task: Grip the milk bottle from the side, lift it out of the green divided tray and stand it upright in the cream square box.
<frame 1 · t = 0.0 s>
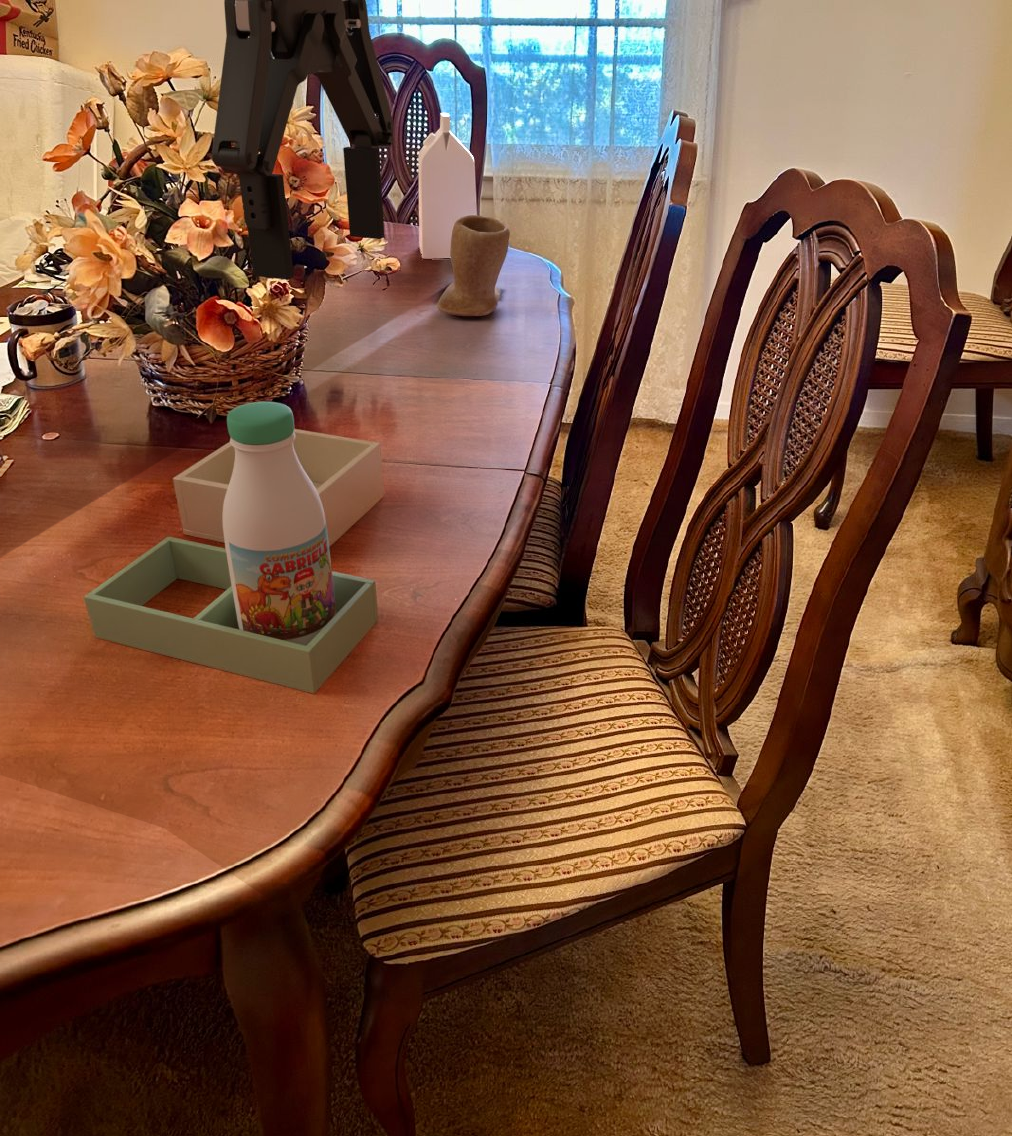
hand: (324, 255, 69), 29 cm above the table, tool pointing down, fingers open, 13 cm apart
green divided tray: (238, 628, 78), on the table
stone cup: (475, 310, 159), on the table
cream square box: (287, 514, 95), on the table
milk: (448, 253, 195), on the table
milk bottle: (291, 643, 76), resting in green divided tray
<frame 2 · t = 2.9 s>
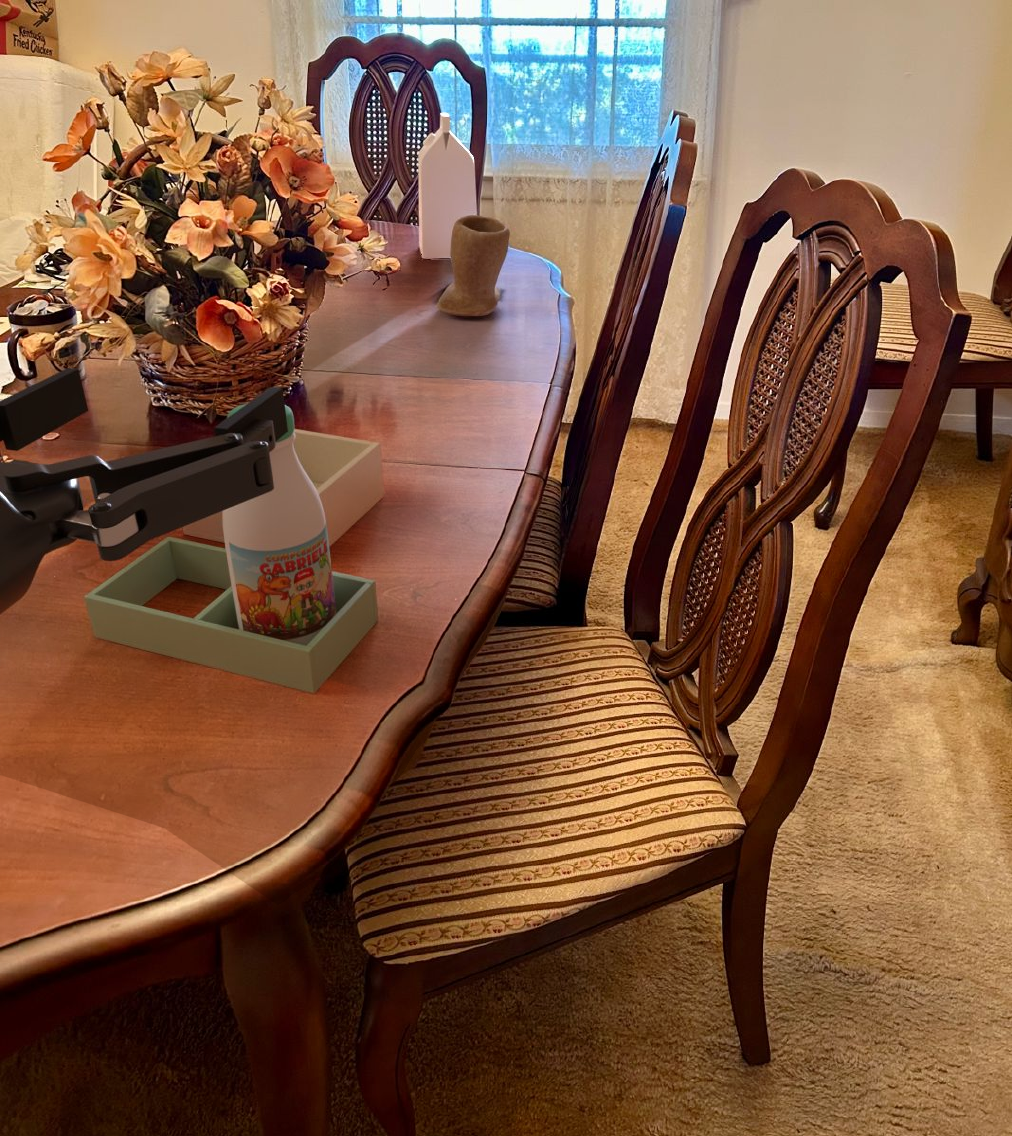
hand: (176, 398, 56), 24 cm above the table, tool horizontal, fingers open, 13 cm apart
nothing on the table moved.
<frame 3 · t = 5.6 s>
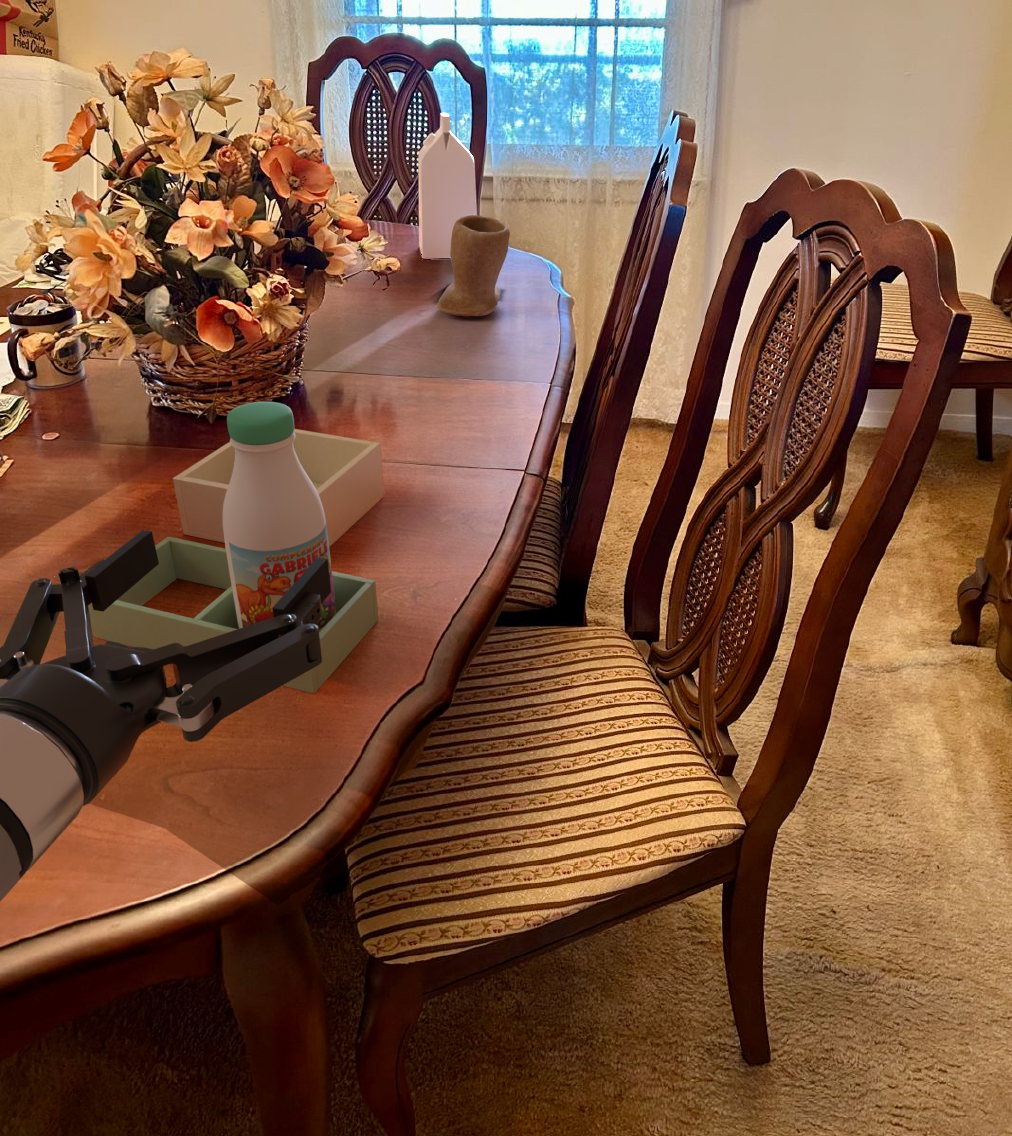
hand: (236, 560, 66), 11 cm above the table, tool horizontal, fingers open, 13 cm apart
nothing on the table moved.
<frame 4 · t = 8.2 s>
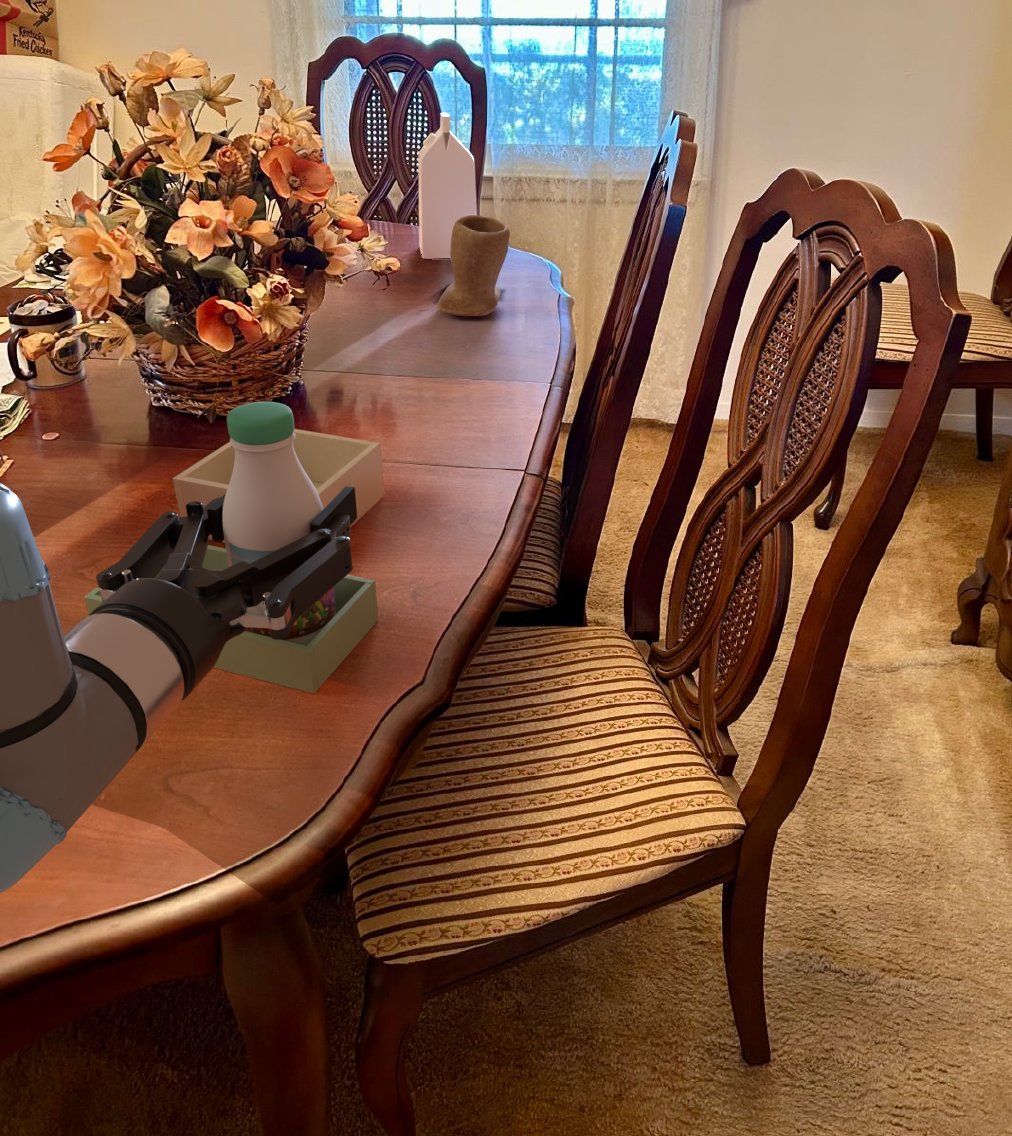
hand: (303, 495, 74), 11 cm above the table, tool horizontal, fingers closed on milk bottle, 8 cm apart
milk bottle: (291, 643, 76), resting in green divided tray, touching gripper
everything else where it was.
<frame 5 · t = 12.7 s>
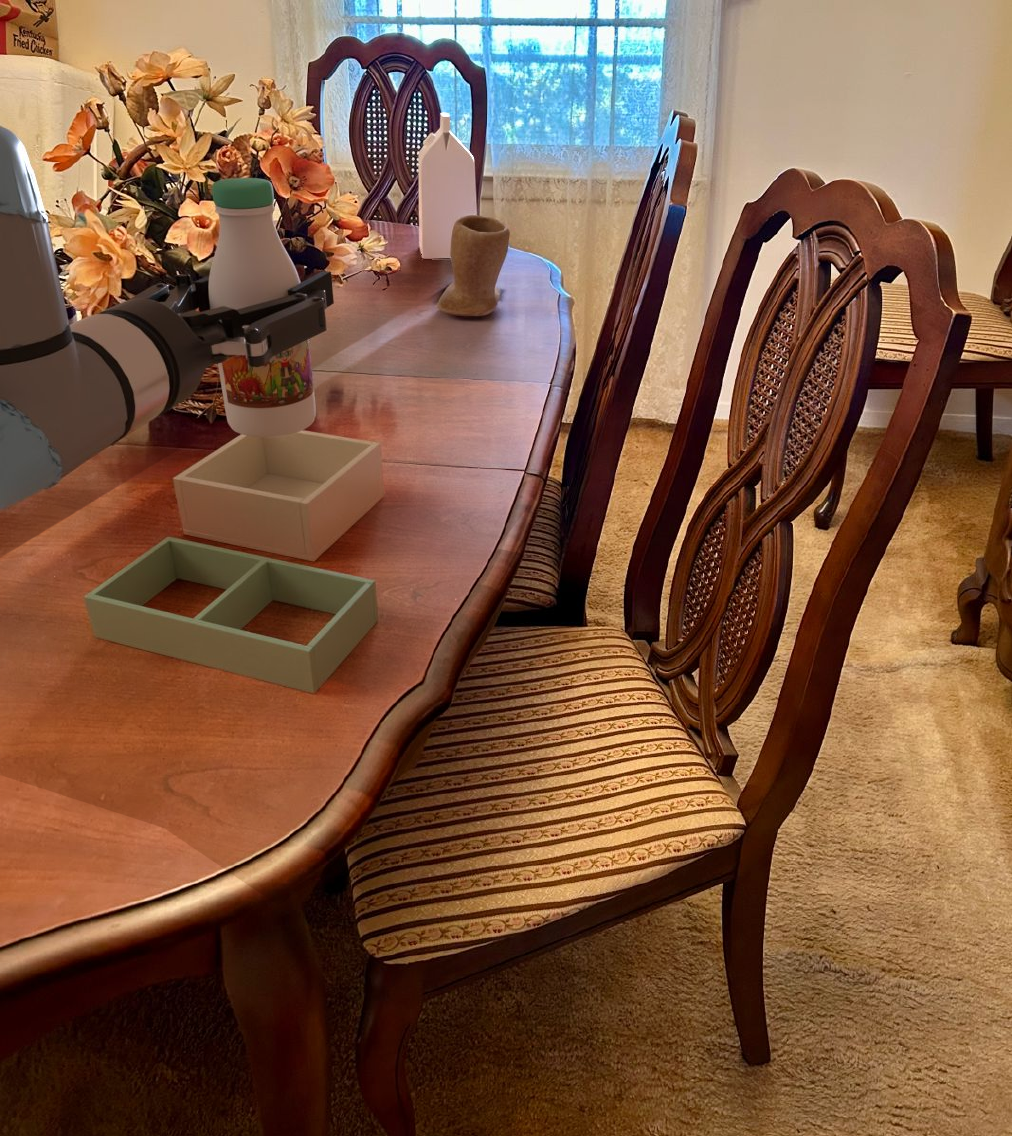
hand: (284, 283, 81), 24 cm above the table, tool horizontal, fingers closed on milk bottle, 8 cm apart
milk bottle: (273, 424, 83), point 13 cm above the table, touching gripper
everything else where it was.
when the fingers open (12 cm above the table, at t = 17.3 s): milk bottle stays where it is, resting on cream square box.
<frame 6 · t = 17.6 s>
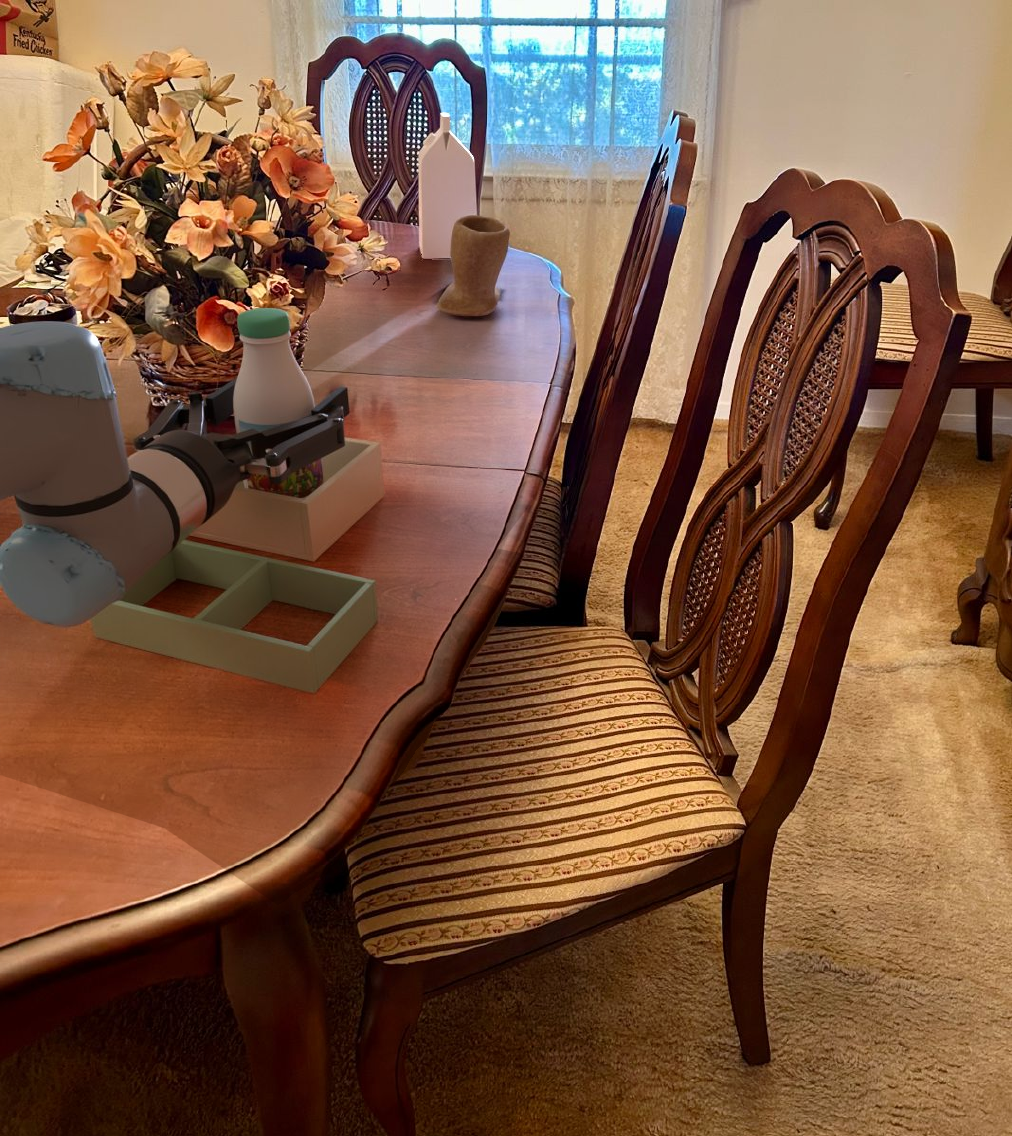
hand: (294, 394, 93), 11 cm above the table, tool horizontal, fingers open, 10 cm apart
milk bottle: (287, 511, 95), resting on cream square box
everything else where it was.
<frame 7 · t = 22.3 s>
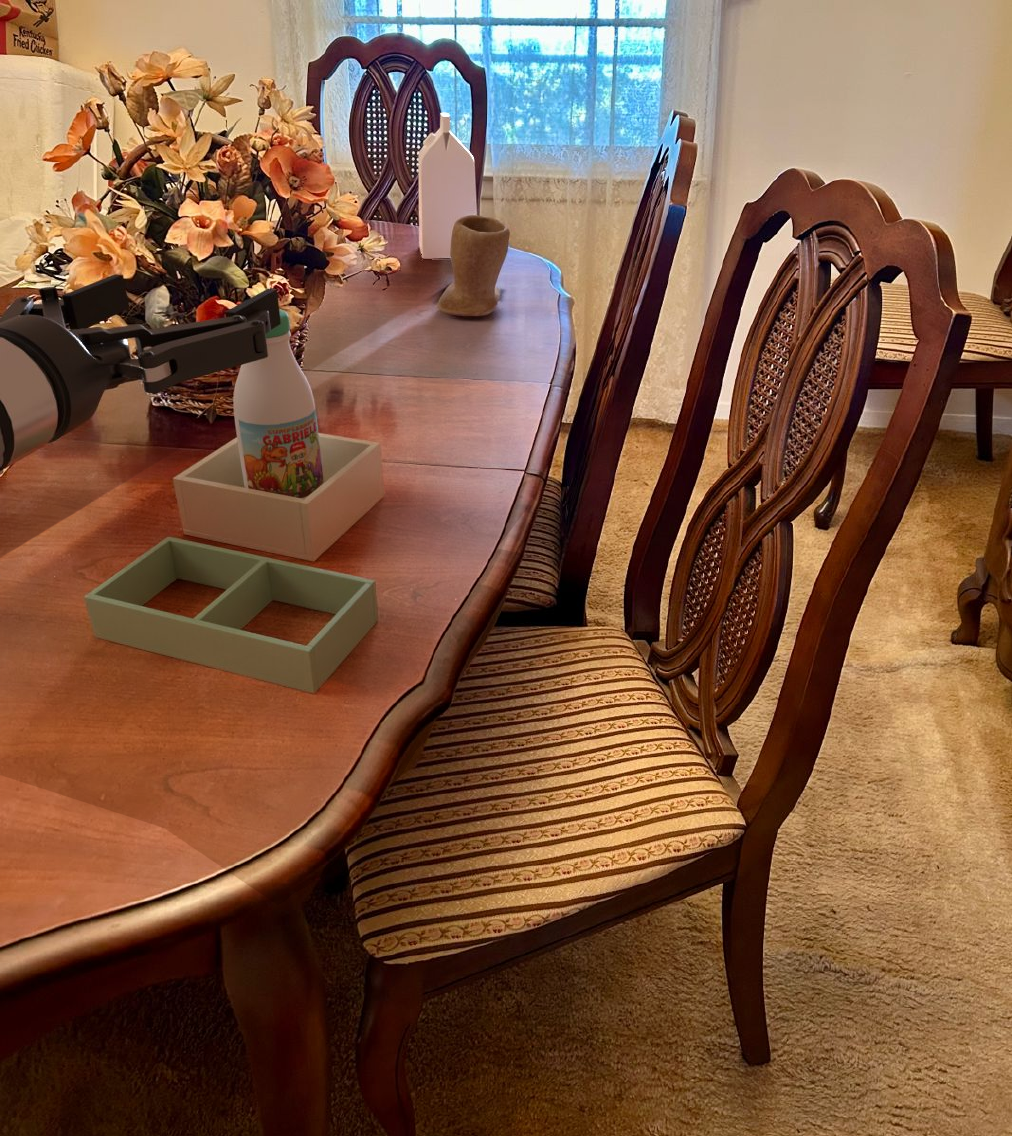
hand: (197, 298, 74), 24 cm above the table, tool horizontal, fingers open, 13 cm apart
nothing on the table moved.
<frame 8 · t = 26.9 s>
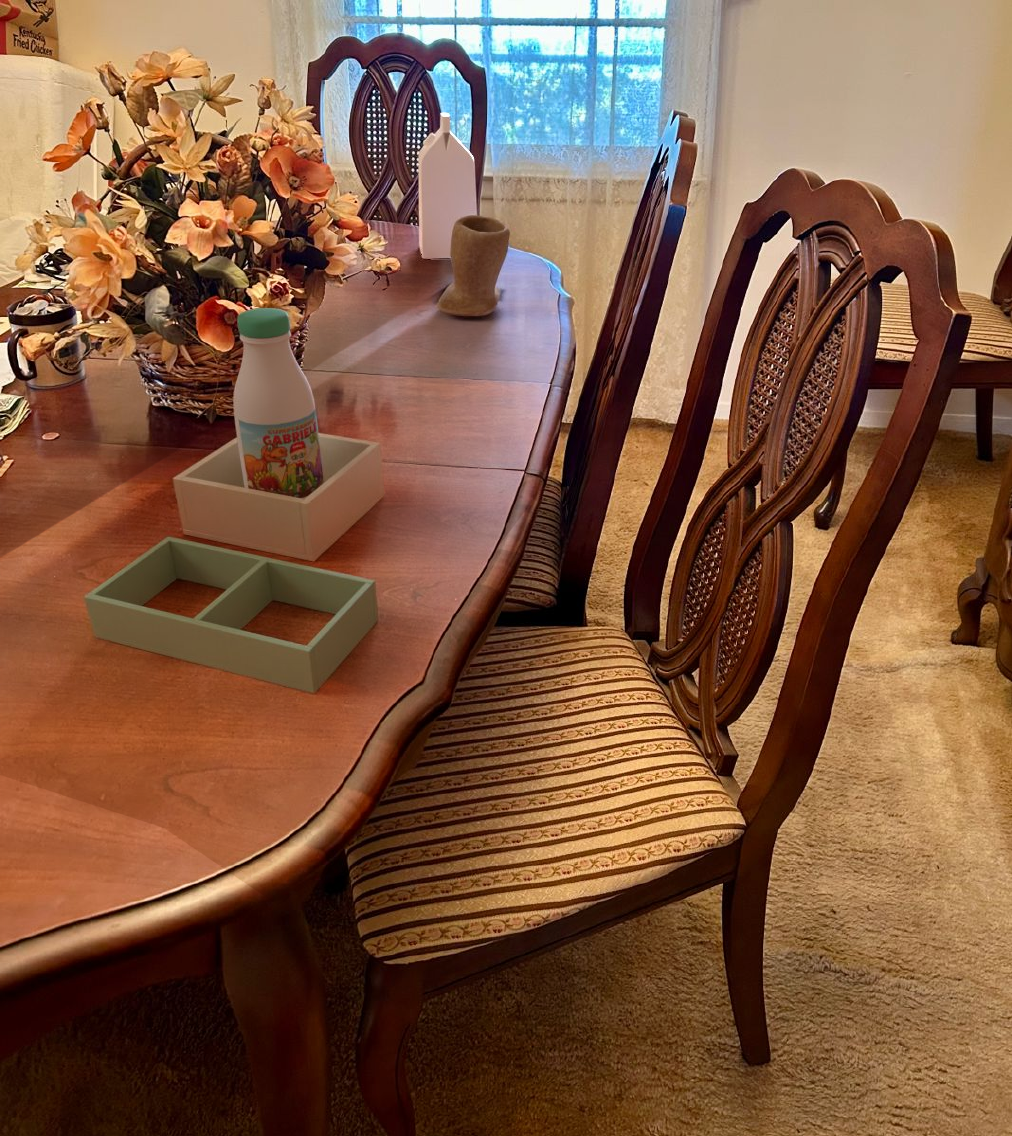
nothing on the table moved.
at the end: milk bottle inside the target area in the cream square box (0.1 cm from its centre), point 0.4 cm above the cream square box's base; milk bottle tilted 0°; the gripper is holding nothing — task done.
